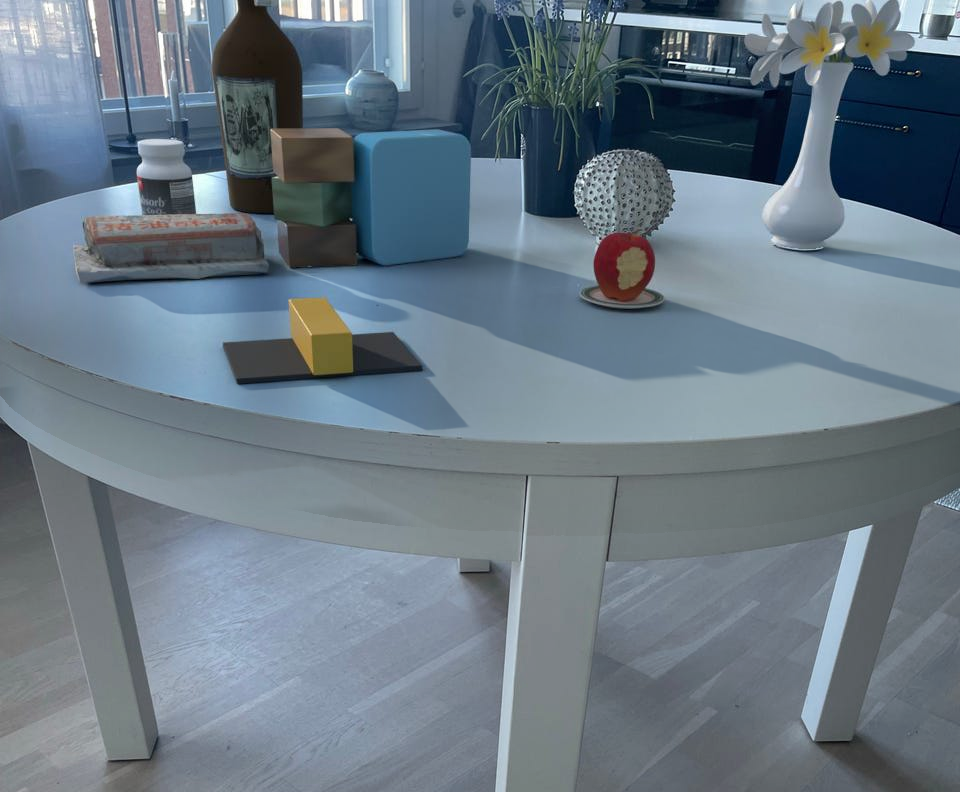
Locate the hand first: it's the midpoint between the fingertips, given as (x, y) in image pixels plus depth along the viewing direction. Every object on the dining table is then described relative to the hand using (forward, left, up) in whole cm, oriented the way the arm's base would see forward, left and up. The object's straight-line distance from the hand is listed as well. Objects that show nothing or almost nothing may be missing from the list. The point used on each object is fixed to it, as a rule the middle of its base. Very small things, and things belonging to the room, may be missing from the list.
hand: (198, 2), depth 71 cm
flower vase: (+68, +22, -23) cm, 75 cm away
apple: (+37, +3, -23) cm, 44 cm away
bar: (+6, -8, -23) cm, 25 cm away
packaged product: (-3, +23, -23) cm, 33 cm away
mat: (+6, -8, -23) cm, 25 cm away
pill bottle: (-2, +36, -23) cm, 43 cm away
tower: (+12, +25, -23) cm, 36 cm away
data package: (+22, +24, -23) cm, 40 cm away
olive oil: (+11, +54, -23) cm, 60 cm away
